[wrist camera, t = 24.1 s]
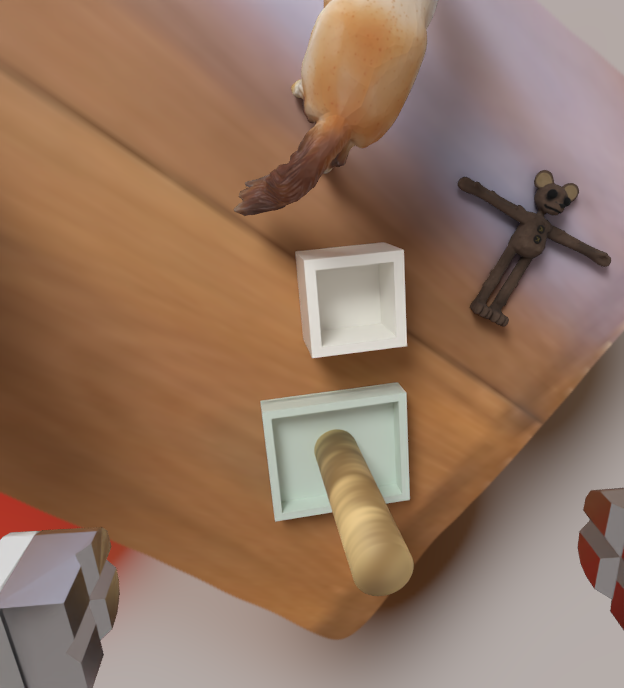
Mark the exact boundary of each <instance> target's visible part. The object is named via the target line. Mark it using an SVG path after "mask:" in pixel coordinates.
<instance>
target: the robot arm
mask: <svg viewBox="0 0 624 688" xmlns="http://www.w3.org/2000/svg"><path fill="white" fill-rule="evenodd" d="M583 510H584V512H585V513H586V515H587V516H588V517H589V519H590V521H589V522H588V523H587V524H586V525H585V526H584V527H583V528H582V529H581V530H580V533H579V541H578V552H579V558H580V563H581V566H582V568H583V570H584V573H585V575H586V577H587V579H588V580H589V581H590V583H591V584H592V586H593V587H594V589H596V590H597V591H599V592H600V593H602V594H604V595H606V596H607V597H609V598H611V599H612V601H611V610H610V611H611V613H612V614H613V616H614V617H615V619H616V620H617V621H618V623H619V624H620V626H621V627H622V628H623V630H624V488H614V489H602V490H591V491H590V492H589V494H588V495H587V497H586V499H585V504H584V509H583ZM110 549H111V543H110V540H109V536H108V532H107V530H105V529H104V528H102V527H96V528H77V529H58V530H42V531H29V532H13V533H9V534H7V535H6V536H4V537H3V538H2V539H1V540H0V688H93V685H94V682H95V679H96V676H97V673H98V670H99V667H100V664H101V661H102V658H103V655H104V654H103V650H102V646H101V642H100V640H101V639H102V638H104V636H106V635H107V634H108V633H109V632H110V631H111V630H112V628H113V625H114V622H115V619H116V615H117V610H118V603H119V595H120V593H119V579H118V574H117V569H116V567H114V566H113V565H112V564H111V563H110V562H109V561H107V560H106V559H107V557H108V554H109V552H110Z"/></svg>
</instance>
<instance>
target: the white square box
mask: <svg viewBox="0 0 624 688" xmlns="http://www.w3.org/2000/svg"><path fill="white" fill-rule="evenodd" d="M295 255H296V266H297V277H298V288H299V299H300V309H301V320H302V331H303V339H304V342H305V344H306V346H307V348H308V350H309V352H310V354H311V356H312V358H318V357H325V356H333V355H341V354H349V353H357V352H365V351H373V350H380V349H388V348H396V347H404V346H407V334H406V302H405V270H404V250H403V249H400V248H398V247H395V246H392V245H390V244H387V243H385V242H382V243H372V244H363V245H353V246H343V247H334V248H324V249H314V250H305V251H295Z"/></svg>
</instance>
